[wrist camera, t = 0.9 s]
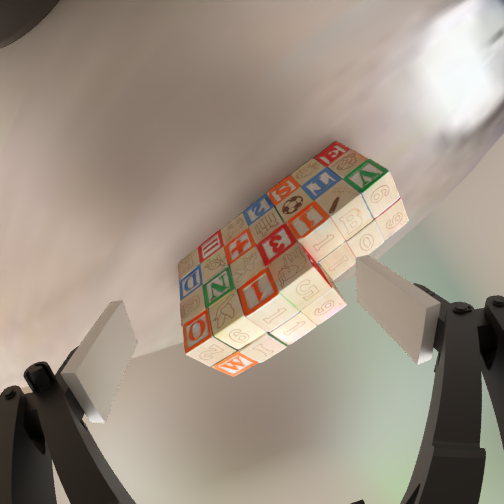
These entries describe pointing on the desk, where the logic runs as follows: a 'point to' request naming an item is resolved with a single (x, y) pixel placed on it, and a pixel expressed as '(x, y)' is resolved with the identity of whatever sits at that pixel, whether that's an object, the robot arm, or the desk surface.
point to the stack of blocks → (285, 259)
